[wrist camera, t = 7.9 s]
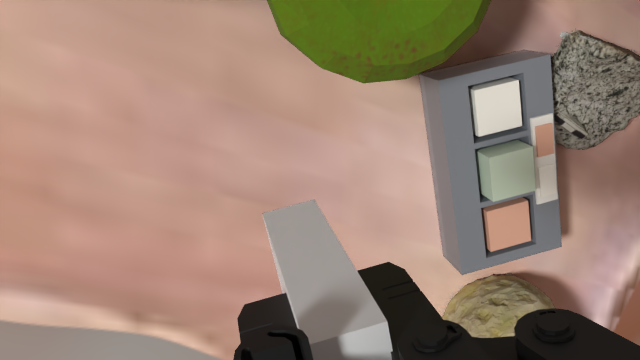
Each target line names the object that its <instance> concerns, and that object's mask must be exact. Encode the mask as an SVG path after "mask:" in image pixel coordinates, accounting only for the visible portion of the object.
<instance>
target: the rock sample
mask: <svg viewBox="0 0 640 360" xmlns="http://www.w3.org/2000/svg"><path fill="white" fill-rule="evenodd" d="M560 37H563V38H562V42H561V45H560V47H559V49H558V50H557V52H556V53H554V56H553V58H552V60H551V73H552V90H553V107H554V124H555V140H556V143H557V144H561V145H563V146H564V147H566V148H568V149H582V150H584V149H588V148H591V147H594V146H596V145H597V144H599V143H601V142H602V141H603V140H604V139H605V138H607V137H608V136H609V135H610V134H611V133H612V132H615V131H619V130H624V128H625V127H626V126H627V124H628V121H629V119H631V118H634V117H637V115H638V114H639V113H640V56H639V55H637V54H635V53H634V52H635V50H634V52H632V49H631V51H630V50H628V49H624V48H622V47H620V46H617V45H615V44H613V43H610V42H605V41H603V40H601V39H599V38H595V37H593V36H591V35H588V34H585V33H584V32H582V31H580V30H576V28H575V31H574V32H571V33H568V32H566V33H565V32H562V33H561V34H560ZM558 46H559V45H558ZM556 47H557V46H556Z"/></svg>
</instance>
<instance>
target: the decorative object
mask: <svg viewBox="0 0 640 360" xmlns="http://www.w3.org/2000/svg"><path fill="white" fill-rule="evenodd" d="M550 308H555V306H554V305H553V303H552V300H551V299H550V298H549V297H548V296H547V295H546V294H545V293H544V292H541V291H540V290H539V289H538V288H536V286H534V285H532V284H531V283H529V282H527V281H526V280H524V279H521V278H518V277H515V276H513V275H512V274H511V273H508V274H505V275H499V276H494V275H492V276H490V277H488V278H484V279H479V280H476V281H474V282H472V283H470V284H467V285H466V286H464V287H463V288H462V289H461V290H460V291H459V292H458V293H457V294H456V295H455V296H454V297H453V298H452V299H451V301H450V302H449V304H448V306H447V308H446V310H445V312H444V315H443V317H442V319H443V320H449V321H452V322H455V323H458V324H459V325H461V326H462V327H463V328H465V329H466V330H467V331H468V332H469V334H470V335H471V336H472V337H478V338H494V337H507V336H515V333H514V327H515V325H516V323H517V320H519V319H520V318H521V317H522V316H524V315H525V314H527V313H530V312H533V311H536V310H539V309H550ZM555 309H556V308H555Z"/></svg>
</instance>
